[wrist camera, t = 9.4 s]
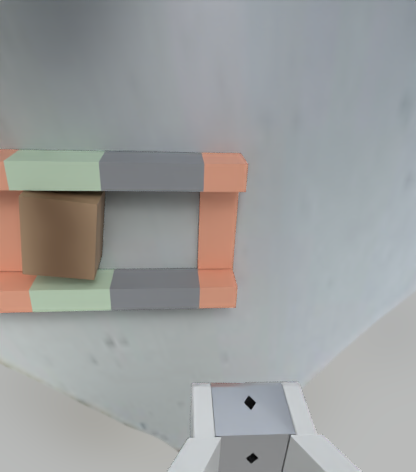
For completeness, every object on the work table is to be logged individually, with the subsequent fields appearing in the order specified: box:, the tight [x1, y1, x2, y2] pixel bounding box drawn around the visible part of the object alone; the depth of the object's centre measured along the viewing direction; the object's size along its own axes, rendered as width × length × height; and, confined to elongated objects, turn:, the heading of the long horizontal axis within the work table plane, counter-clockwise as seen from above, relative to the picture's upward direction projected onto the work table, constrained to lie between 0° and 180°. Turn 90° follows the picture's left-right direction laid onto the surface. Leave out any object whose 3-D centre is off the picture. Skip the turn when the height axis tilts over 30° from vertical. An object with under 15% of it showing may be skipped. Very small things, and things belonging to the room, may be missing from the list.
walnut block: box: [19, 190, 105, 280], centre depth 29 cm, size 5×6×4 cm
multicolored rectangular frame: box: [0, 149, 248, 313], centre depth 30 cm, size 20×12×3 cm, turn 88°
